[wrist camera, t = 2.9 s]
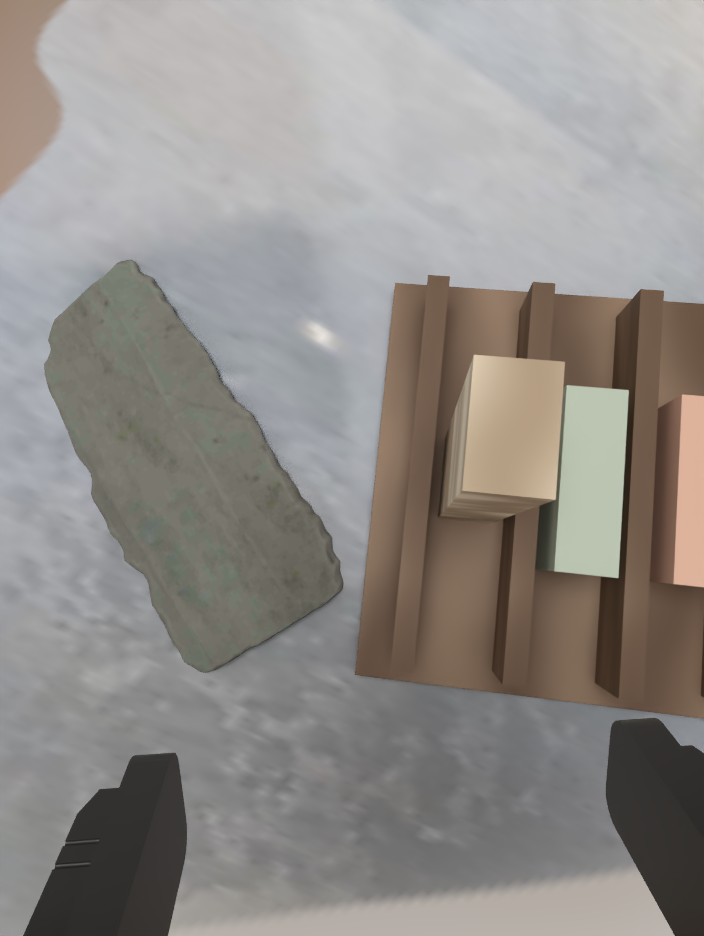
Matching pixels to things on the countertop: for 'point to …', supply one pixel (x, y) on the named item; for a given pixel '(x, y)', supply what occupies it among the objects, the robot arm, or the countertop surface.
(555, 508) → the sage offcut
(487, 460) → the tall wooden post
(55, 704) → the countertop surface
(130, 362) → the stone slab
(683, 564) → the terracotta offcut
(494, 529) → the walnut rack
